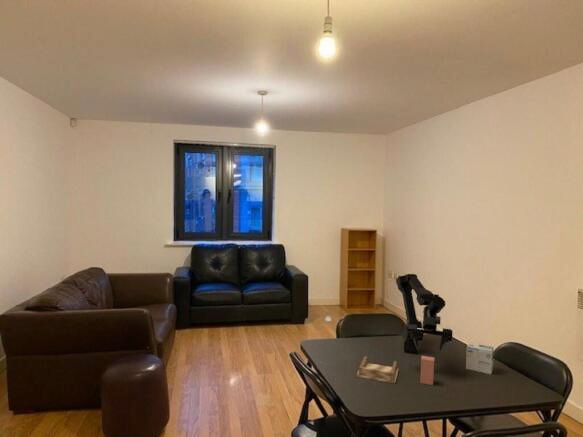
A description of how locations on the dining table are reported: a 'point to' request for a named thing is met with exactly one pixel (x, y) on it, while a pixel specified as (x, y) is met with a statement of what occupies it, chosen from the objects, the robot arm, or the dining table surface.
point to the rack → (378, 371)
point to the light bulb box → (479, 358)
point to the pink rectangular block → (427, 370)
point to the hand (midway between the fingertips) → (428, 350)
